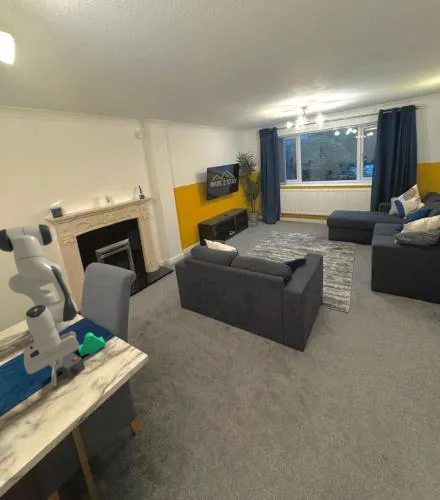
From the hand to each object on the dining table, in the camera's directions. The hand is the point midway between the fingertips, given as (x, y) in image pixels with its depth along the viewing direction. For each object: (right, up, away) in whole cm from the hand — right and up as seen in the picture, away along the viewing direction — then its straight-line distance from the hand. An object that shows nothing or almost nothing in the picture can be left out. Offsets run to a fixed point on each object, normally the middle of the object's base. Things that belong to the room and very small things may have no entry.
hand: (58, 367), depth 114 cm
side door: (-3, -6, +4) cm, 8 cm away
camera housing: (+1, -5, +9) cm, 10 cm away
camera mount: (+5, 0, +22) cm, 23 cm away
